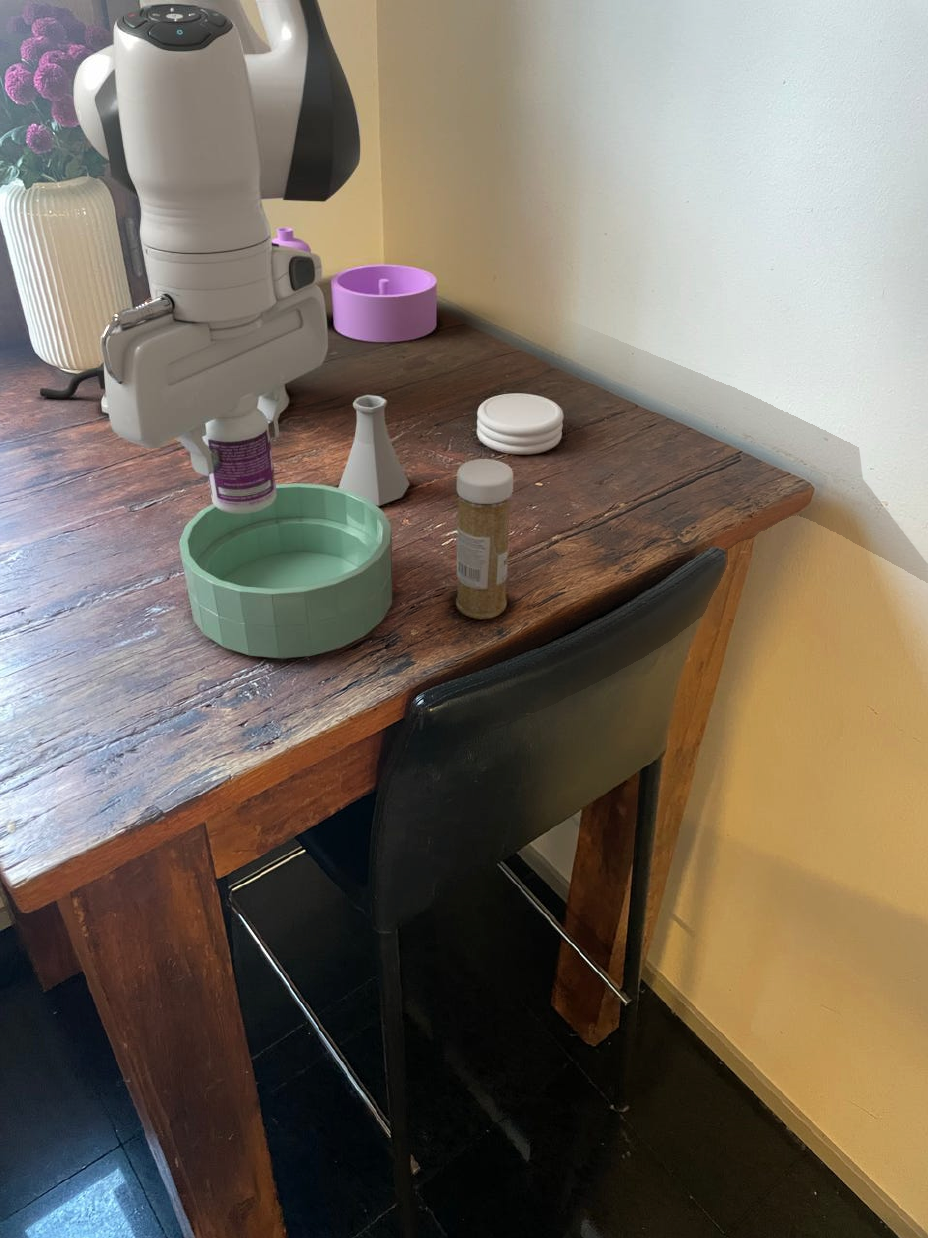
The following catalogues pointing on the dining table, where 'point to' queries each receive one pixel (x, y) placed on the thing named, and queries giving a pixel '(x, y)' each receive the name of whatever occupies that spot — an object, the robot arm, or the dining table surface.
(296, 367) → the robot arm
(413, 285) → the container set
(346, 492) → the mint green bowl
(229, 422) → the pill bottle
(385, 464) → the flask
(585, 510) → the dining table surface
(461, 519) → the sprinkles bottle
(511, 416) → the white round disc stack
